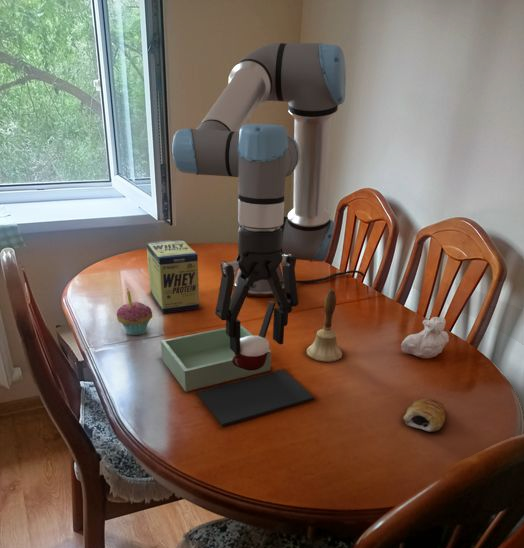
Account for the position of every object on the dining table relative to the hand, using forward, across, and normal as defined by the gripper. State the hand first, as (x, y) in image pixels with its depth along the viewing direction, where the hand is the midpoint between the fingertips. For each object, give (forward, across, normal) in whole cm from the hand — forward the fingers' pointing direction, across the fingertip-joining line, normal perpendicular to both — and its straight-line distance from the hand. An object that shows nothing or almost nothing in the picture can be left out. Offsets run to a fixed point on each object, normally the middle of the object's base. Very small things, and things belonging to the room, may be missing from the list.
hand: (256, 346), depth 93 cm
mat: (+11, 0, 0) cm, 11 cm away
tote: (+11, +2, -15) cm, 19 cm away
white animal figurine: (+12, -44, +2) cm, 46 cm away
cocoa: (+4, +1, 0) cm, 4 cm away
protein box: (+12, -2, -53) cm, 54 cm away
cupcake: (+12, +13, -39) cm, 43 cm away
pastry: (+12, -25, +21) cm, 35 cm away
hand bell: (+12, -23, -9) cm, 27 cm away
